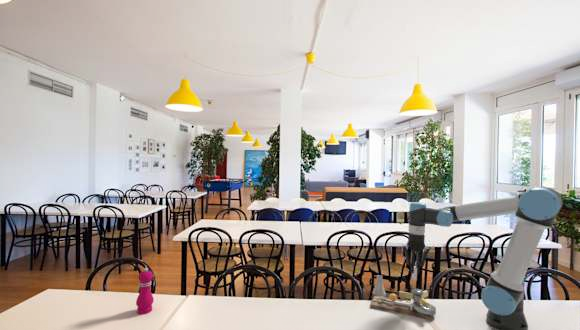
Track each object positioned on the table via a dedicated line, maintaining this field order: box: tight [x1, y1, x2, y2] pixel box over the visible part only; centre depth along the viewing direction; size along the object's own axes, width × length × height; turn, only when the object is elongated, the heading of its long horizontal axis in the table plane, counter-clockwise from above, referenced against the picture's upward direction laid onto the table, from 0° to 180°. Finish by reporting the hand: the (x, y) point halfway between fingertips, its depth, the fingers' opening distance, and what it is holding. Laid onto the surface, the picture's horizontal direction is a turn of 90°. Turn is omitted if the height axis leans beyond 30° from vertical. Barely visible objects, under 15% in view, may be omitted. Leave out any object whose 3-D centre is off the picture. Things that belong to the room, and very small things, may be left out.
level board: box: [370, 294, 432, 321], centre depth 146 cm, size 27×12×2 cm, turn 67°
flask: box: [371, 274, 387, 297], centre depth 161 cm, size 7×7×10 cm
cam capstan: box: [398, 288, 437, 317], centre depth 144 cm, size 16×14×8 cm
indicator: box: [388, 293, 413, 310], centre depth 146 cm, size 11×8×5 cm
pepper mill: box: [135, 267, 154, 315], centre depth 137 cm, size 7×7×20 cm
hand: (414, 279), depth 150 cm, fingers closed
